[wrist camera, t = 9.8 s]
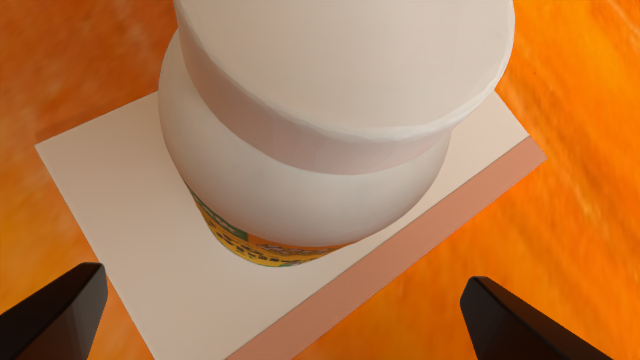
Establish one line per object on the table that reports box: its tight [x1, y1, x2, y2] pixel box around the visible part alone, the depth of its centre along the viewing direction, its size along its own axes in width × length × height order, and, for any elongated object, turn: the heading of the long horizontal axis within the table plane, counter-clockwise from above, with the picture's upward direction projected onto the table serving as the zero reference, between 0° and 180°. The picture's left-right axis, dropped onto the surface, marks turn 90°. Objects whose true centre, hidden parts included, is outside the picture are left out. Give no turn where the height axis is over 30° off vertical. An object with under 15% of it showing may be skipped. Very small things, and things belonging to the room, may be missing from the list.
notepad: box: [34, 90, 548, 360], centre depth 19 cm, size 22×14×1 cm, turn 123°
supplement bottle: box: [158, 0, 515, 268], centre depth 12 cm, size 7×7×13 cm
